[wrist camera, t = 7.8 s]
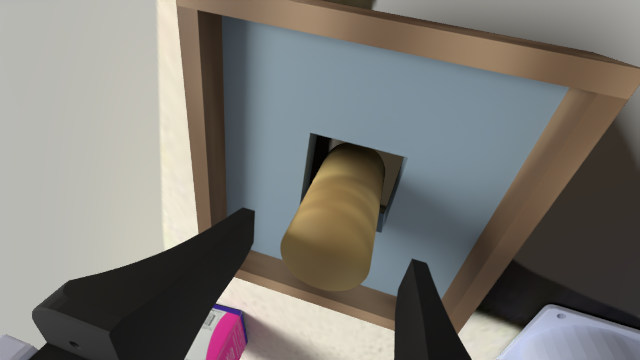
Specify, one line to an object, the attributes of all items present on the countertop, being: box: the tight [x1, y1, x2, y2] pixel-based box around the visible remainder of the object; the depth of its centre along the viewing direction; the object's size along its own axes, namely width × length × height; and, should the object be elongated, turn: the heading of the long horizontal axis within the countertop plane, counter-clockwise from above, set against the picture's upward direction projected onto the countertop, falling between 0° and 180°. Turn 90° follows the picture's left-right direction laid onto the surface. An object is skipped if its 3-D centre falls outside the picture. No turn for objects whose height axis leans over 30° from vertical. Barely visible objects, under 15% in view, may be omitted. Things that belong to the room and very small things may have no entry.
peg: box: [280, 142, 385, 291], centre depth 16 cm, size 4×4×8 cm
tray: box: [176, 0, 640, 334], centre depth 18 cm, size 18×18×4 cm
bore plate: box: [222, 15, 570, 299], centre depth 19 cm, size 16×16×2 cm
